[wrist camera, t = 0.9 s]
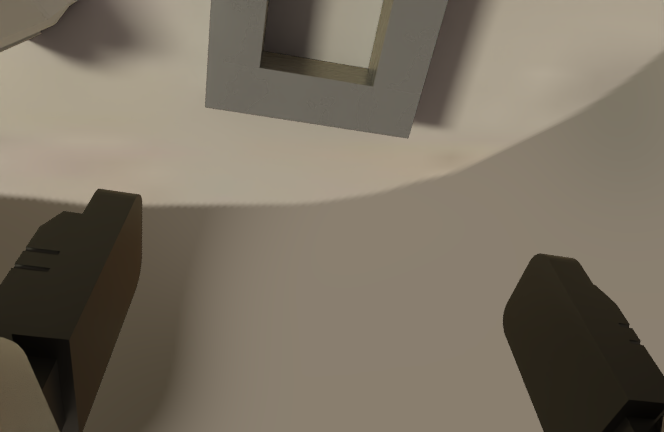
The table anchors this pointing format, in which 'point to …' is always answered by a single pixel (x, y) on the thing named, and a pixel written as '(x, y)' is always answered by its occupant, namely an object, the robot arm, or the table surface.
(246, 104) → the collar
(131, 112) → the table surface
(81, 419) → the robot arm
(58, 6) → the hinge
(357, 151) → the table surface
